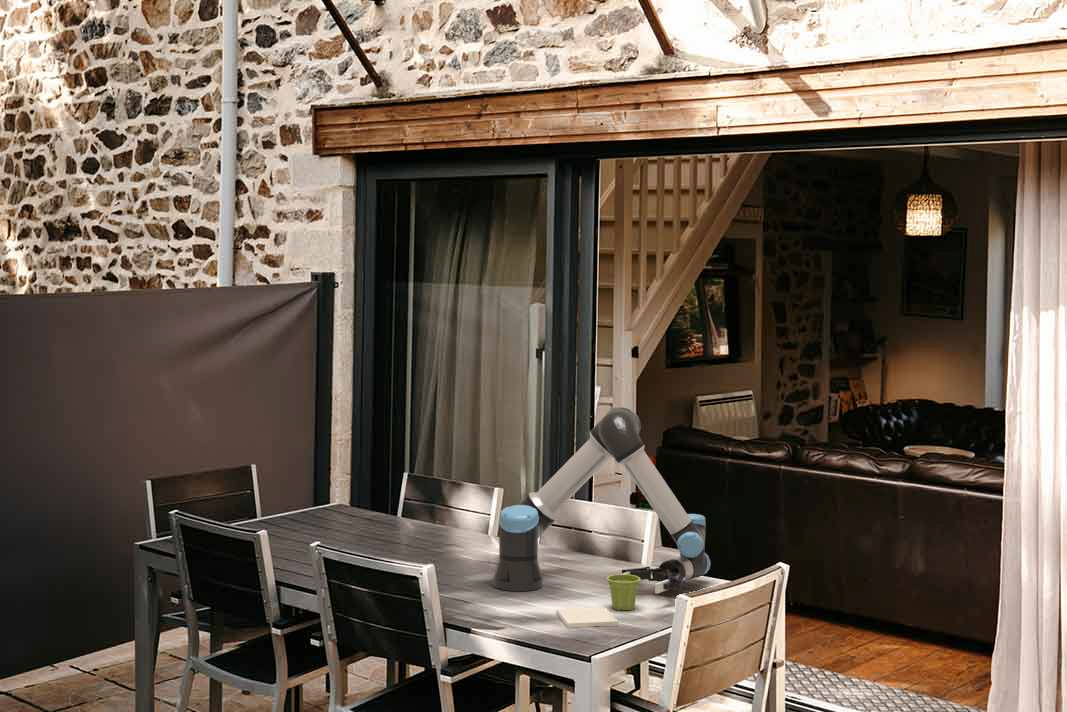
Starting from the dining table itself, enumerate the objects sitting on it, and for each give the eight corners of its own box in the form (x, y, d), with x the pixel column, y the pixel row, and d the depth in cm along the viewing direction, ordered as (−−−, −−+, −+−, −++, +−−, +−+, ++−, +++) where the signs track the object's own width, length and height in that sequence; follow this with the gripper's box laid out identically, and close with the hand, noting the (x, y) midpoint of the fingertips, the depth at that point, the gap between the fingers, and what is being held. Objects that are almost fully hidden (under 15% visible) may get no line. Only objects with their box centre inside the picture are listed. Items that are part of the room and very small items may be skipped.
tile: (556, 613, 347) (556, 609, 346) (605, 611, 349) (605, 607, 349) (567, 627, 333) (567, 623, 333) (618, 625, 336) (618, 621, 336)
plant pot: (621, 614, 347) (621, 583, 346) (599, 606, 354) (600, 576, 354) (646, 609, 352) (647, 579, 352) (625, 602, 360) (625, 572, 359)
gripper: (711, 590, 366) (672, 605, 349) (640, 576, 381) (600, 590, 365) (711, 565, 365) (673, 578, 349) (640, 552, 381) (600, 564, 364)
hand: (635, 584), depth 357 cm, fingers open, 13 cm apart
